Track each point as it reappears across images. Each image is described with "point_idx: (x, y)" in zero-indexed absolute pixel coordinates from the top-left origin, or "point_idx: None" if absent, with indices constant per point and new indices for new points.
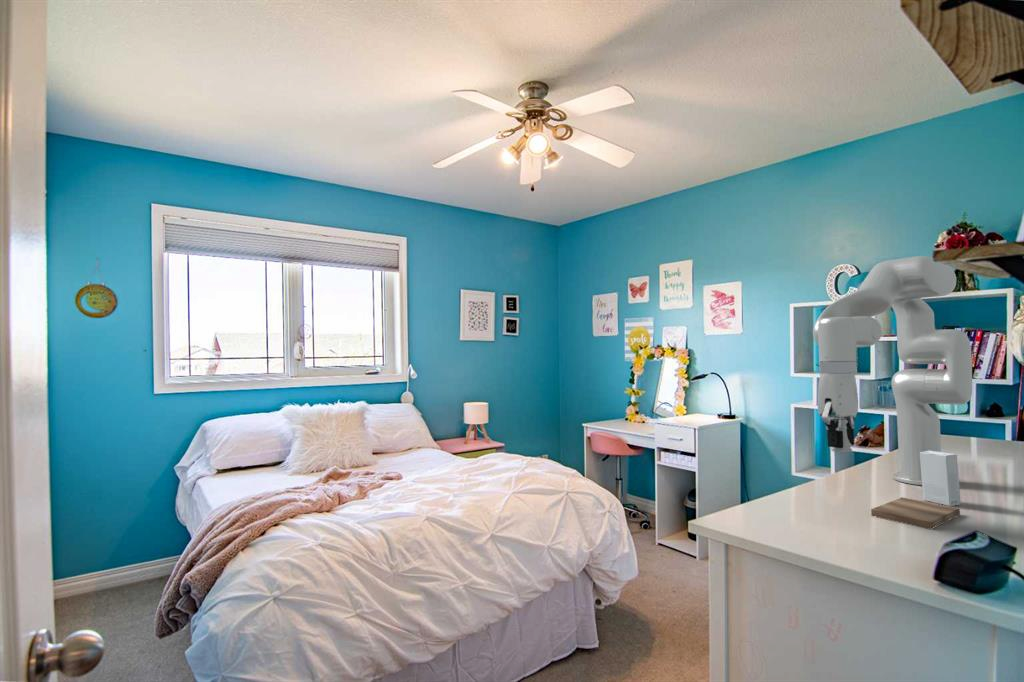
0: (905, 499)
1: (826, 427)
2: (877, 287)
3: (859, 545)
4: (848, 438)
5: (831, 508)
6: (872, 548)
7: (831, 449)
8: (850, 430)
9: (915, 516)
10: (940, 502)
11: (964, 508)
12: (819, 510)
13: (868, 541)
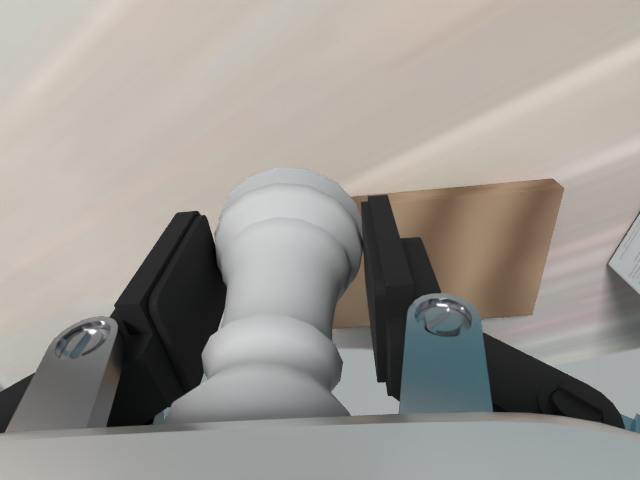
0: (536, 207)
1: (53, 348)
2: None
3: (70, 295)
4: (368, 297)
5: (281, 80)
6: (85, 313)
7: (230, 197)
8: (376, 371)
9: (348, 297)
10: (623, 245)
11: (613, 284)
12: (215, 72)
13: (113, 292)
